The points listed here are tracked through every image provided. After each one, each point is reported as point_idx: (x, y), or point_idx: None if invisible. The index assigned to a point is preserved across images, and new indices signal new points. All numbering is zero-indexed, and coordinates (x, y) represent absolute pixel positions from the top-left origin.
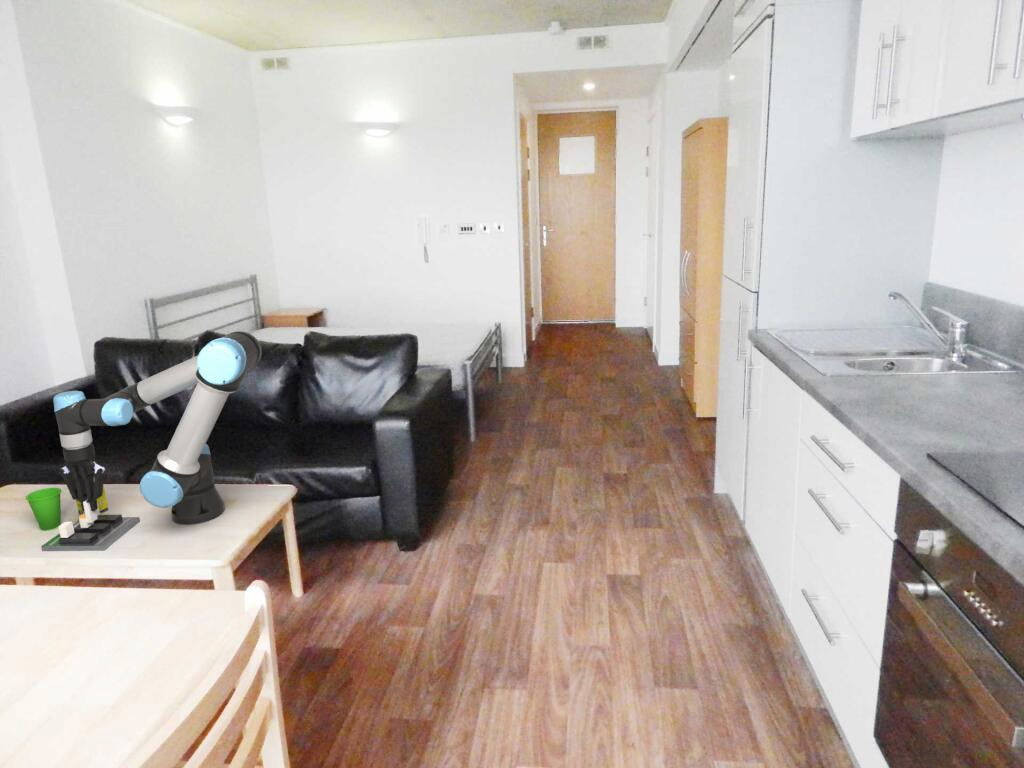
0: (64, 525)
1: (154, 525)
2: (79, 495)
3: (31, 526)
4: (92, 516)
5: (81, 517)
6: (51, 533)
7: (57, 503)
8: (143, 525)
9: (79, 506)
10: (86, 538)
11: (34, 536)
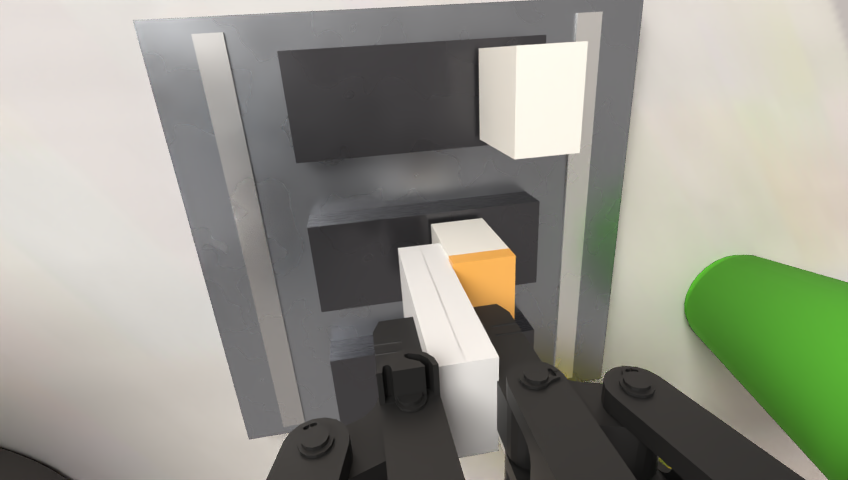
0: (539, 70)
1: (108, 393)
2: (577, 429)
3: None
4: (405, 289)
5: (488, 255)
6: (684, 230)
7: (795, 401)
8: (186, 382)
9: None
10: (313, 59)
11: (759, 188)
